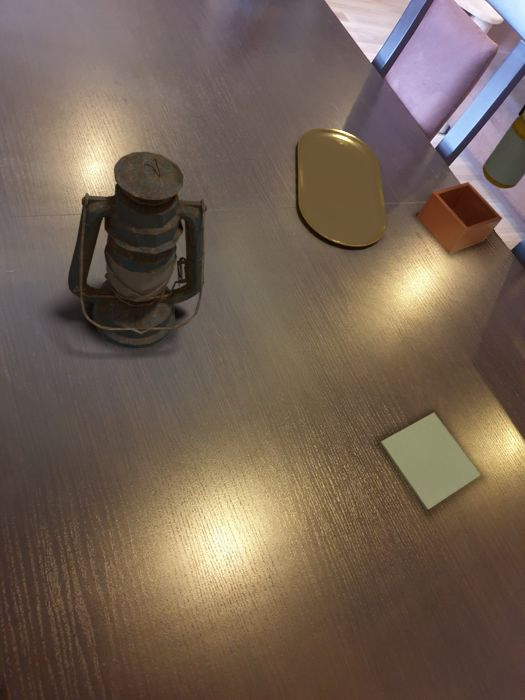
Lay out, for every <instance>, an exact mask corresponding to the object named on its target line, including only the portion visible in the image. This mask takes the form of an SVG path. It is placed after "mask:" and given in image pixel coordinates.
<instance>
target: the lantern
mask: <svg viewBox="0 0 525 700" xmlns="http://www.w3.org/2000/svg"><path fill="white" fill-rule="evenodd" d="M113 176H114V181H115V183H116V184H115V185H114V195H108V196H106V195H105V196H102V195H90V193H88V192H85V195H84V196H83V197H82V198H81V199H80V200H81V206H82V207H81V213H80V218H79V223H78V230H77V236H76V242H75V245H74V249H73V253H72V257H71V261H70V265H69V268H68V269H69V270H68V274H67V286H68V290H69V291H70V292H71V293H72V294H73V295H75V296H77V297H78V298H79V300H80V305H81V311H82V314H83V315H84V318H86V319H87V321H88V322H89V323H90V324H92V325H94V326H95V329H96V330H97V332H98V333H99V334H100V336H101V337H102V338H103V339H104V340H106V341H107V342H109V343H111V344H113V345H115V346H117V347H119V348H123V349H128V350H129V349H130V350H145V349H148V348H153V347H156V346H157V345H159V344H160V343H162V342H164V341H165V340H167V338H168V337H169V336H170V335H171V333H172V331H173V330H177V329H180V328H182V327H184V326H186V325H188V324H189V323H190V322H191V321H192V320H193V319H194V318H195V317H196V315H198V312H199V309H200V305H201V300H202V295H203V294H202V293H203V287H204V284H205V219H206V212H207V210H208V207H207V204H206V201H205V200H204V198H201V199H200V201H197V200H183V199H180V197H179V192H180V191H181V189H182V188H183V187H184V174H183V173H182V171H181V169H180V167H179V166H178V164H177V163H175V162H173V160H170V159H169V158H168V157H166V156H164V155H163V154H159V153H155V152H152V151H151V152H150V151H135V152H130V153H128V154H126V155H124V156H121V157H120V158H119V159H118V160H117V162H115V164H114V167H113ZM103 220H104V221H103ZM182 220H183V221H184V226H183V223H182ZM102 223H103V224H104V227H103V228H104V231H105V232H106V233H107V238H106V244H105V246H104V250H103V253H104V254H103V255H104V260H105V271H106V273H105V274H104V278H105V279H106V280H105V281H103V283H102V284H101V286H100V288H96V287H93V286H90V284H89V283H88V277H89V273H90V269H91V265H92V261H93V257H94V255H95V251H96V246H97V241H98V238H99V234H100V231H101V226H102ZM183 233H184V236H185V239H184V240H185V257H184V256H181V257H179V259H178V256H177V248H178V246H177V243H178V241H179V240H180V238H181V236H182V235H183ZM183 265H184V266H183ZM176 267H177V268H176ZM175 269H176V270H177V280H175V281H174V282H173V285H172V287H171V289H170V288H169V286H168V284H169V282H170V280H171V278H172V276H173V274H174V271H175ZM183 270H184V272H183ZM183 273H184V274H183ZM183 275H184V277H183ZM177 284H178V287H177V288H175V287H176V286H177ZM180 284H184V285H180ZM197 295H198V300H197V304H196V306H195V309H194V313H193V315H192V316H191V317H189V318H188V319H186V320H185V321H183V322H182V323H180V324H178V325H175V323H176V308H175V306H174V305H175V304H180V303H183V302H186V301H188V300H189V299H192V298H193V297H195V296H197ZM84 301H86V302H89V303H91V304H93V307H92V312H91V316H92V319H91V318H90V317H89V314H87V312H86V308H85V303H84Z"/></svg>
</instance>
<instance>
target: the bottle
mask: <svg viewBox="0 0 525 700" xmlns="http://www.w3.org/2000/svg"><path fill="white" fill-rule="evenodd" d="M482 173H483V177H484V178H485V179H486V180H487V181H488V182H489V183H490V184H491V185H493V186H494V187H497V188H499V189H504V190H505V189H512V188H515V187H516V186H517V185H518V184H519V182H520V181H521V180H522V179H523V177H524V176H525V111H524V112H523V114H521V115H520V116H519V115H518V116H517V117H516V118H515V119H514V120H513V122H512V123H511V125H510V126H509V127H508V129H507V130H506V132H505V133H504V135H503V136H502V137H501V139H500V140H499V142H498V143H497V145H496V146H495V148H494V149H493V151H492V152H491V153H490V155H489V156H488V157H487V159H486V160H485V162H484V164H483V166H482Z"/></svg>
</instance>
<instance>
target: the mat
mask: <svg viewBox="0 0 525 700" xmlns="http://www.w3.org/2000/svg"><path fill="white" fill-rule="evenodd" d="M379 444H380V445H381V447H382V448H383V450H384V451H385V453H386V454H387V456H388V457H389V459H390V460H391V461H392V463H393V464H394V466H395V467H396V468H397V470H398V471H399V473H400V475H401V476H402V477H403V479H404V480H405V482H406V483H407V485H408V486H409V488H410V489H411V491H412V492H413V493H414V495H415V496H416V498H417V499H418V501H419V502H420V504H421V505H422V506H423V508H424V509H425V511H427V512H428V511H429V510H430V509H432V508H433V507H435V506H436V505H438V504H440V503H441V502H442V501H444V500H446V499H447V498H449V497H450V496H452V495H453V494H455V493H457V491H459V490H460V489H462V488H464V487H465V486H467V485H468V484H470V483H471V482H473V481H474V480H476V479H477V478H479V477H481V473H480V471H479V470H478V469H477V468H476V466H475V465H474V464H473V462H472V461H471V460H470V458H469V457H468V456H467V455H466V453H465V451H463V449H462V448H461V446H460V445H459V444H458V442H457V440H456V439H455V438H454V437H453V435H452V434H451V433H450V432H449V430H448V429H447V428H446V426H445V425H444V423H443V422H442V421H441V419H440V418H439V417H438V415H437V414H436V413H435V412H431V413H430V414H428V415H426V416H425V417H423V418H421V419H419V420H418V421H416V422H413V423H412V424H410V425H408V426H406V427H405V428H402V429H400V430H399V431H397V432H395V433H394V434H392V435H390V436H388V437H386V438H385V439H383V440H381V441H380V442H379Z"/></svg>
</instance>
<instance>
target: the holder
mask: <svg viewBox="0 0 525 700" xmlns="http://www.w3.org/2000/svg"><path fill="white" fill-rule="evenodd" d="M416 218H417V219H418V220H419V222H420V223H421V224H422V225H423V226H424V227H425V229H427V230H428V232H429V233H430V234H431V235H432V237H433V238H434V239H435V240H436V241H437V242H438V244H439V245H440V246H441V247H442V248H443V249H444V251H445V252H446V253H447V254H448V255H451V254H454V253H457V252H459V251H461V250H464V249H467V248H470V247H474V246H475V245H478V244H480V243H483V242H484V241H485V240H486V239H487V238H488V237H489V235H490V234H491V233H492V232H493V231H494V230H495V229H496V227H497V226H498V225H499V224H500V222H501V221H502V220H503V217H502V216H501V215H500V214H499V212H498V211H496V210H495V209H494V207H493V206H492V205H491V204H490V203H489V202H488V201H487V200H486V199H485V198H484V197H483V195H482V194H480V193H479V192H478V190H477V189H476V188H475V187H474V186H473V185H472V184H471V183H470V181H466V182H463V183H460V184H456V185H453V186H449V187H445V188H443V189H439V190H436V191H432V192H431V194H430V195H429V197H428V199H427V200H426V202H425V203H424V205H423V206H422V208H421V209H420V212H418V214H417V215H416Z"/></svg>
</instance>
